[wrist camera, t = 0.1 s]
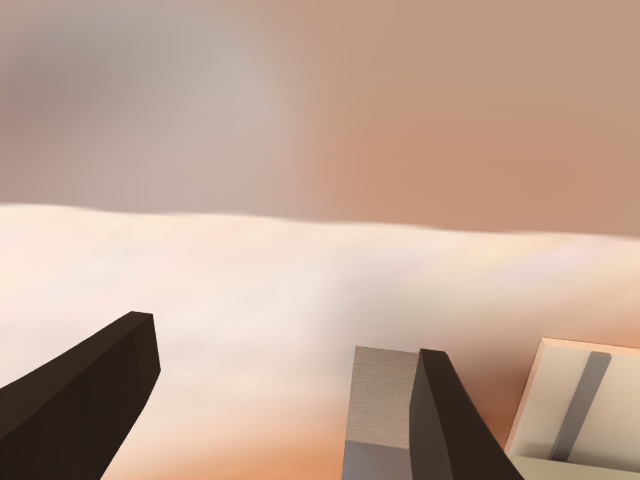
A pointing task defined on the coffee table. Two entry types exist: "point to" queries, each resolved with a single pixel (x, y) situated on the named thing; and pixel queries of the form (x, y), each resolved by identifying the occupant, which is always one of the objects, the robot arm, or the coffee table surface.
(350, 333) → the coffee table surface
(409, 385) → the part block
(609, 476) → the mint green storage bin
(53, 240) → the coffee table surface
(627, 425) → the rail board
